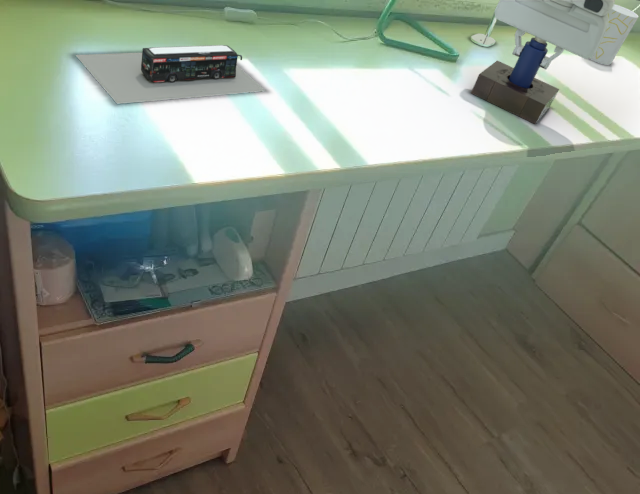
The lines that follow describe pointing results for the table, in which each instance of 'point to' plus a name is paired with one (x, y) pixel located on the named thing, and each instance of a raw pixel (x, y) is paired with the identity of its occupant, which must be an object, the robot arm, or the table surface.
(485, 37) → the stand
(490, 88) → the block
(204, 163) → the table surface
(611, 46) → the cup
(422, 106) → the table surface
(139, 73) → the toy bus on base
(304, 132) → the table surface
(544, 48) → the bottle
